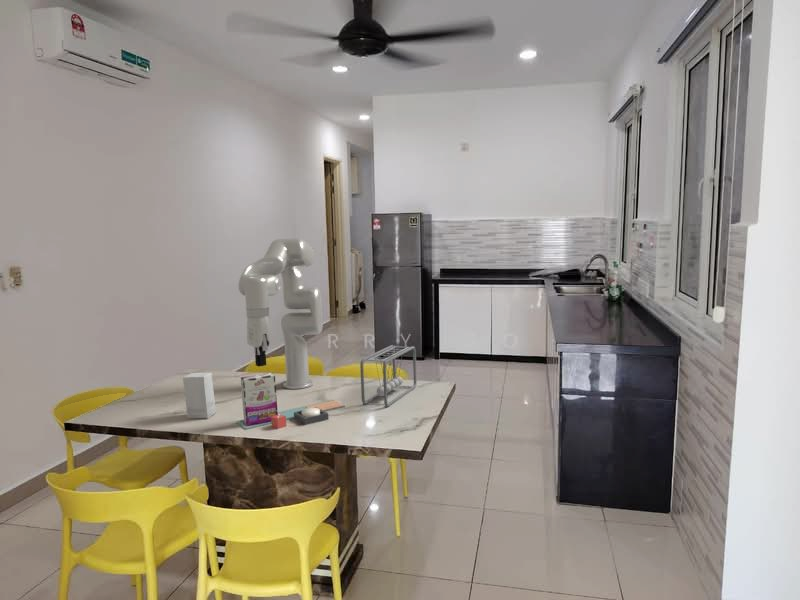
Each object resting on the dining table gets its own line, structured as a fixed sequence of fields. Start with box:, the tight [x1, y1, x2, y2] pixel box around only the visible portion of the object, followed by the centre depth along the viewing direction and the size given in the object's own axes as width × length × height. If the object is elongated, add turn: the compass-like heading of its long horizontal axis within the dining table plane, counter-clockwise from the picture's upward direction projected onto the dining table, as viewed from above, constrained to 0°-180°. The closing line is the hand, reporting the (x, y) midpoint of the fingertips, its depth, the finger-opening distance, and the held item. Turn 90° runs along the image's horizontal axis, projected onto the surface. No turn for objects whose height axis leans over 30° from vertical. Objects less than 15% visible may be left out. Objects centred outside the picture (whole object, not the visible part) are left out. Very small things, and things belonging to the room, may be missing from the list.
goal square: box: [305, 400, 345, 411], centre depth 211 cm, size 8×12×1 cm, turn 125°
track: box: [235, 399, 346, 430], centre depth 204 cm, size 10×38×1 cm, turn 125°
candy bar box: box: [240, 372, 279, 427], centre depth 196 cm, size 11×5×16 cm, turn 117°
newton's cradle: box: [359, 344, 418, 408], centre depth 222 cm, size 30×10×18 cm, turn 156°
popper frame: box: [294, 407, 329, 426], centre depth 198 cm, size 9×9×2 cm
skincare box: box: [182, 372, 217, 419], centre depth 204 cm, size 8×7×16 cm
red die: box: [270, 414, 287, 430], centre depth 191 cm, size 4×4×4 cm
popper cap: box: [302, 408, 320, 417], centre depth 198 cm, size 6×6×2 cm
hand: (261, 365), depth 195 cm, fingers closed
